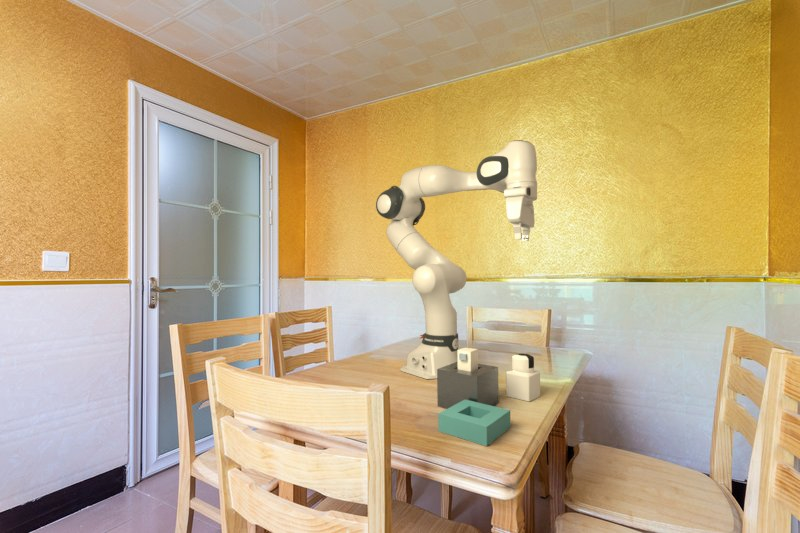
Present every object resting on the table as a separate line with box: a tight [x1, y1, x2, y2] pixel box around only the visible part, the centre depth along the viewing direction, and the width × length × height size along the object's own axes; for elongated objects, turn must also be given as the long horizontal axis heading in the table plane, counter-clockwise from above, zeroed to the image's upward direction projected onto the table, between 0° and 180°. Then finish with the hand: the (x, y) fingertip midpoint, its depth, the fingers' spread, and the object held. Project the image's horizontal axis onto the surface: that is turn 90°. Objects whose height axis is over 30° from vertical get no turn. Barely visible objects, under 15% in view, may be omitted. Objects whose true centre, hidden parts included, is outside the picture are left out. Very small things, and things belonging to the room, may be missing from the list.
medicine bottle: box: [505, 353, 541, 402], centre depth 109 cm, size 7×7×12 cm
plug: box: [457, 347, 479, 372], centre depth 102 cm, size 4×5×9 cm
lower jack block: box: [437, 400, 511, 447], centre depth 87 cm, size 12×12×4 cm
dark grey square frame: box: [436, 362, 500, 410], centre depth 103 cm, size 12×12×10 cm
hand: (522, 240), depth 114 cm, fingers open, 8 cm apart
